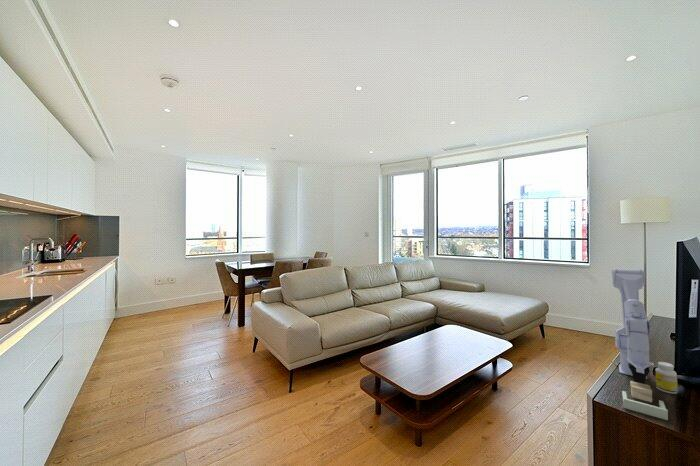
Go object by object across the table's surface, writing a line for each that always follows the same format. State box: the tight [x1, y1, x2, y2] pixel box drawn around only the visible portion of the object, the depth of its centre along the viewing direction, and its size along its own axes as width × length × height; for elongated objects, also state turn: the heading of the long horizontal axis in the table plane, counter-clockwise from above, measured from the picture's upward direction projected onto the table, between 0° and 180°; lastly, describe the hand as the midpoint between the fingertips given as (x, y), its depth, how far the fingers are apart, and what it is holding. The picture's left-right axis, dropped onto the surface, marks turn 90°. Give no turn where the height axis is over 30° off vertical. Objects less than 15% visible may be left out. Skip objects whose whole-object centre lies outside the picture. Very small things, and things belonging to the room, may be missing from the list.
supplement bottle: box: [654, 361, 679, 395], centre depth 105 cm, size 5×5×10 cm
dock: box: [621, 390, 669, 421], centre depth 94 cm, size 9×10×3 cm
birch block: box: [629, 380, 653, 403], centre depth 101 cm, size 5×5×4 cm
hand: (639, 385), depth 106 cm, fingers closed
